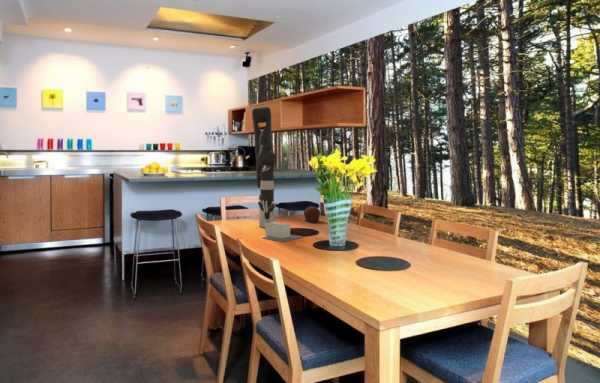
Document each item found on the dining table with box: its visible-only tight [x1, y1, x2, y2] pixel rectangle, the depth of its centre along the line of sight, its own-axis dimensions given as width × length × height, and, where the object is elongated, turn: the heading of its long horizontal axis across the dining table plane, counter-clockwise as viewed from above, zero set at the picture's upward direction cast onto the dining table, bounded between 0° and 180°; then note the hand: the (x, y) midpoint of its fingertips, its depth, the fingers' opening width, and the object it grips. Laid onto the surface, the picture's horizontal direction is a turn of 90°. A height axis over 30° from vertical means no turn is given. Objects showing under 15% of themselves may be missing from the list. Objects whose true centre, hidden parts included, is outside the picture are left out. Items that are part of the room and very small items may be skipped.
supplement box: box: [264, 221, 291, 239], centre depth 269 cm, size 7×7×13 cm
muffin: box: [303, 206, 321, 224], centre depth 326 cm, size 12×11×10 cm
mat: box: [262, 233, 304, 243], centre depth 269 cm, size 17×15×1 cm
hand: (267, 219), depth 274 cm, fingers closed
